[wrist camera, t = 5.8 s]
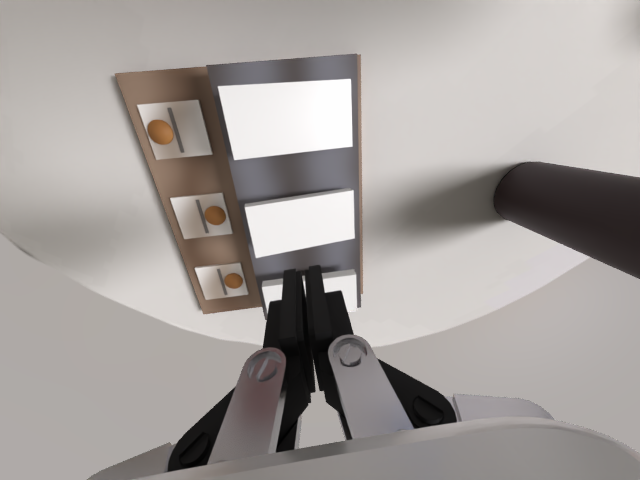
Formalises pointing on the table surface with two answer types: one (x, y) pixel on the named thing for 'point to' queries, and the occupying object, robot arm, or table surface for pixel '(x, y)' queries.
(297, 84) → the rocker near
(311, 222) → the rocker middle
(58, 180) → the table surface
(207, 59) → the table surface
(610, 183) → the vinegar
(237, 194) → the rocker switch unit
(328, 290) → the rocker far
